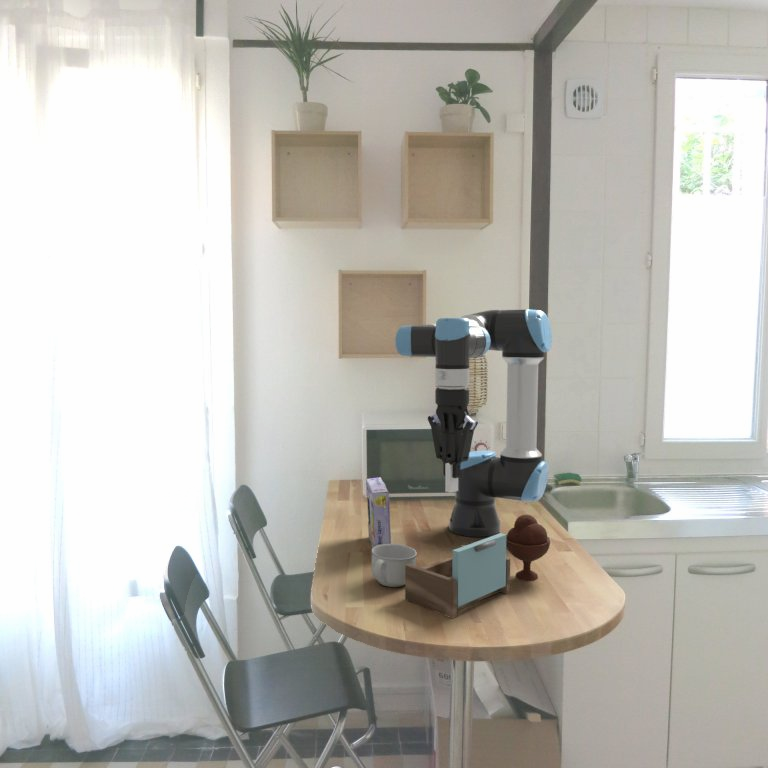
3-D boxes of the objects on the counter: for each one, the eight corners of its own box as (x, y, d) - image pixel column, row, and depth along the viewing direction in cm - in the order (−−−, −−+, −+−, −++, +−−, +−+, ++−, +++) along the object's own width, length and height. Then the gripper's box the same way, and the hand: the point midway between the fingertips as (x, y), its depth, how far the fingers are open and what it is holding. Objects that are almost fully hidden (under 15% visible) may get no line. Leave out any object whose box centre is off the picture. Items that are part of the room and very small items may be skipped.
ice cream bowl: (495, 577, 174) (495, 516, 173) (521, 565, 182) (522, 507, 181) (532, 588, 167) (533, 525, 165) (558, 576, 175) (559, 516, 173)
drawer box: (462, 576, 175) (462, 544, 174) (509, 592, 165) (510, 558, 164) (405, 599, 161) (405, 565, 160) (453, 618, 151) (453, 581, 150)
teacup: (390, 571, 179) (390, 539, 178) (425, 581, 172) (425, 548, 171) (353, 587, 168) (353, 554, 167) (389, 599, 161) (389, 564, 161)
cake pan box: (366, 536, 207) (365, 476, 205) (383, 535, 208) (383, 475, 206) (373, 558, 188) (372, 492, 186) (392, 557, 189) (391, 492, 187)
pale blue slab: (500, 584, 165) (500, 532, 163) (510, 587, 163) (510, 535, 161) (452, 605, 153) (452, 549, 152) (462, 608, 151) (462, 552, 150)
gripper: (419, 386, 162) (419, 489, 164) (464, 390, 152) (463, 499, 155) (441, 384, 167) (441, 483, 169) (486, 388, 157) (485, 493, 160)
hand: (451, 491), depth 162 cm, fingers closed
